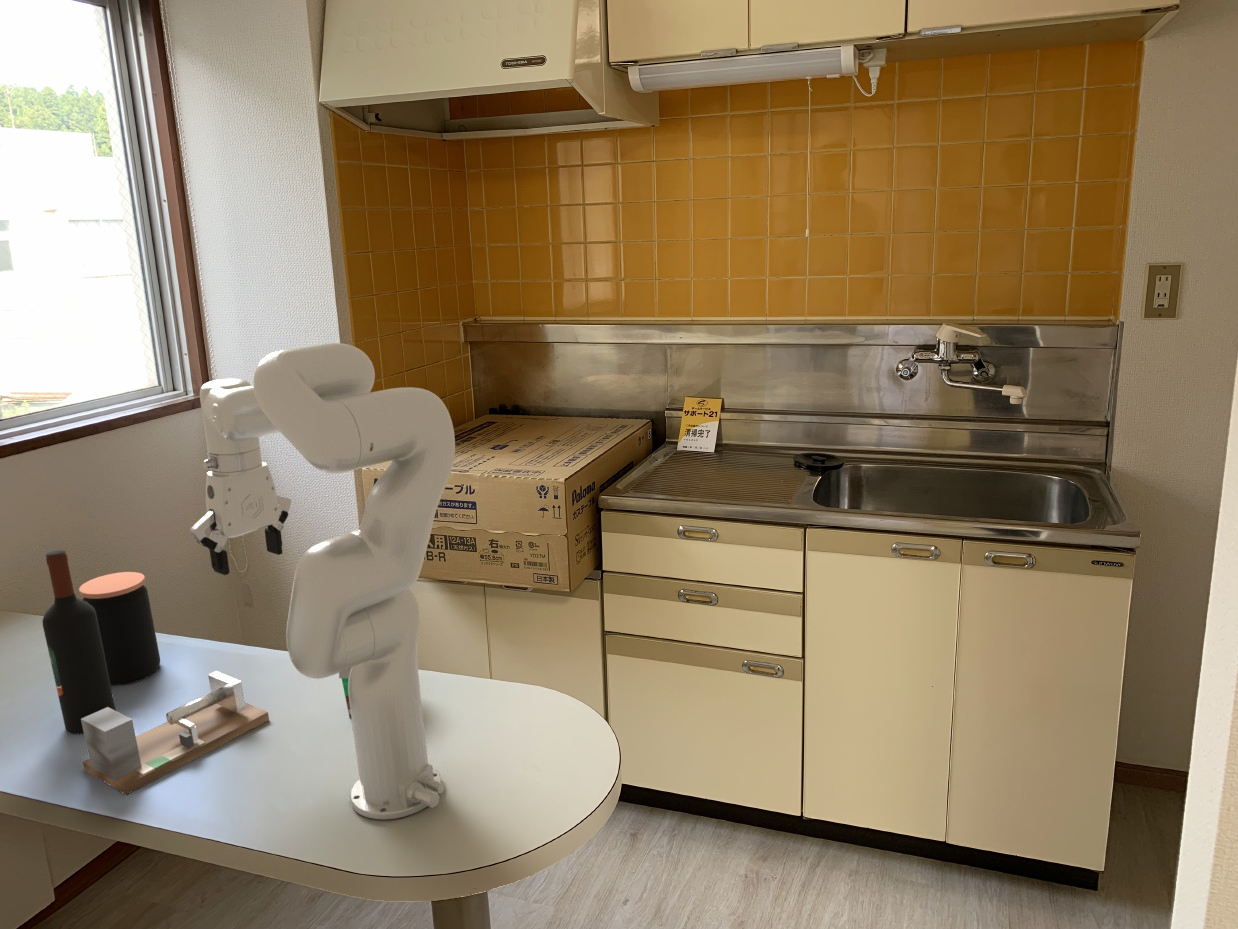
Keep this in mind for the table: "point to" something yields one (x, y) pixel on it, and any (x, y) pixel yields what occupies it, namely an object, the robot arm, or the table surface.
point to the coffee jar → (124, 625)
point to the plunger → (210, 701)
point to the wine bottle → (75, 649)
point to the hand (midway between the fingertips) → (249, 562)
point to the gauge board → (156, 743)
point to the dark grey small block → (186, 739)
